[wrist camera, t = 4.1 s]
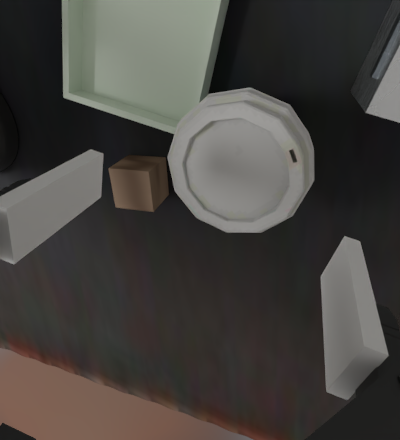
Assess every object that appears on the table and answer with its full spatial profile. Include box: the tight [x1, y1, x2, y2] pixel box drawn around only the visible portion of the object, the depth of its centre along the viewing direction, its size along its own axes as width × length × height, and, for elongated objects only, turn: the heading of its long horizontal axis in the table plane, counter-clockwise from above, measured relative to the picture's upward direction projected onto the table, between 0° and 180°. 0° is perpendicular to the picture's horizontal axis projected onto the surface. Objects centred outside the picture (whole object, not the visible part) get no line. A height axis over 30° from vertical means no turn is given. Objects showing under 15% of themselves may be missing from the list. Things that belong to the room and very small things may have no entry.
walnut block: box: [108, 155, 169, 212], centre depth 39 cm, size 5×5×5 cm
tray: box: [62, 0, 229, 134], centre depth 32 cm, size 15×15×3 cm
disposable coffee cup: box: [167, 88, 314, 233], centre depth 28 cm, size 11×11×15 cm
